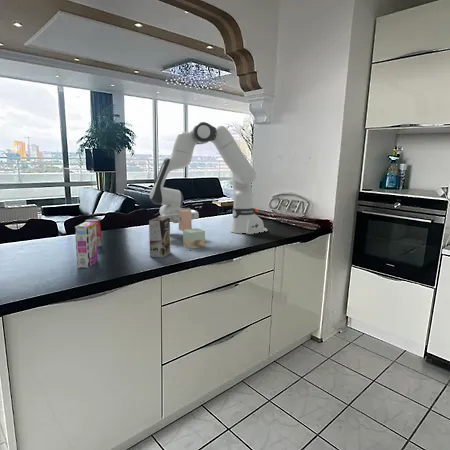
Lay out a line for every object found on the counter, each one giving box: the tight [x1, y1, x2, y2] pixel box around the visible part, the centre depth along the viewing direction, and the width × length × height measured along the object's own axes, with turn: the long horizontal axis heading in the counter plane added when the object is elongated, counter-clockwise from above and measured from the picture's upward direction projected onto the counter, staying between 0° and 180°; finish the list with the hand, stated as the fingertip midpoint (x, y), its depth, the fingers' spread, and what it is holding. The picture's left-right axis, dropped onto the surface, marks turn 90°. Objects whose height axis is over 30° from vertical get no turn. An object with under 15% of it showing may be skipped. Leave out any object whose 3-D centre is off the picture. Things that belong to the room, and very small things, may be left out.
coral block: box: [178, 209, 193, 232], centre depth 173 cm, size 5×5×10 cm
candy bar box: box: [74, 221, 99, 269], centre depth 132 cm, size 11×5×16 cm, turn 5°
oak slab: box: [182, 237, 206, 249], centre depth 164 cm, size 8×8×4 cm
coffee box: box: [148, 217, 171, 259], centre depth 147 cm, size 9×6×16 cm
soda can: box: [84, 218, 103, 248], centre depth 160 cm, size 7×7×13 cm
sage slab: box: [182, 227, 206, 241], centre depth 163 cm, size 8×8×4 cm
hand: (185, 218), depth 172 cm, fingers closed on coral block, 5 cm apart
